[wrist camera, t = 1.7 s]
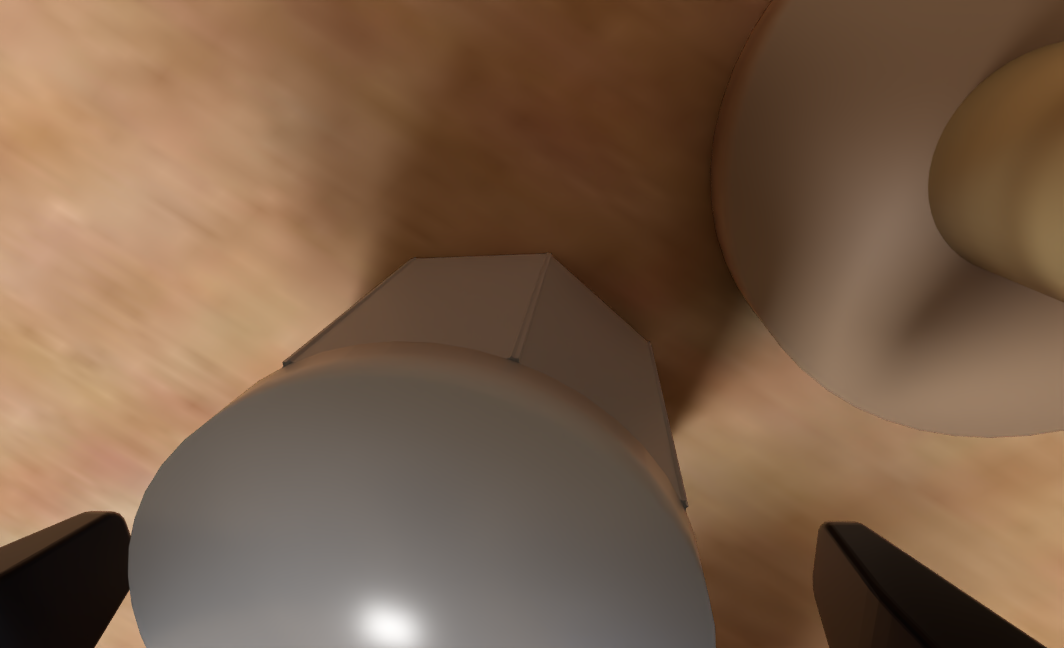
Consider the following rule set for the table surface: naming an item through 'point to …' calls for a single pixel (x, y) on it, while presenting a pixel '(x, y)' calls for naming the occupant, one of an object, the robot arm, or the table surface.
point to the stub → (904, 204)
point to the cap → (433, 483)
